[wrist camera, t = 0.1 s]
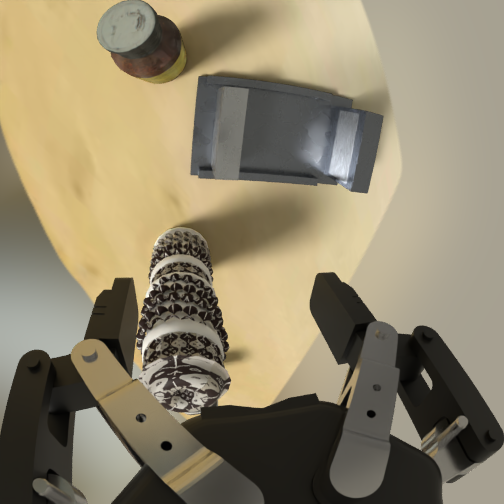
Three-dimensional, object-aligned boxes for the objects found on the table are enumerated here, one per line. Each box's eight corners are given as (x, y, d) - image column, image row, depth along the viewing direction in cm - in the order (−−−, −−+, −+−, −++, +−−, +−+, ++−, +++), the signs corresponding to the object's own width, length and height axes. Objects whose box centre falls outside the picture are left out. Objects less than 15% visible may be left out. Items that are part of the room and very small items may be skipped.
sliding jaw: (218, 88, 32) (224, 86, 26) (238, 90, 33) (249, 88, 27) (210, 164, 37) (215, 179, 31) (230, 165, 38) (238, 180, 32)
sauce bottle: (196, 52, 30) (203, 8, 14) (169, 92, 32) (148, 86, 16) (152, 31, 28) (120, -26, 11) (126, 71, 30) (67, 51, 13)
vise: (198, 76, 32) (201, 70, 24) (349, 99, 37) (385, 104, 29) (190, 173, 38) (191, 194, 31) (334, 183, 43) (364, 204, 35)
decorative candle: (177, 211, 41) (172, 348, 19) (224, 249, 45) (261, 390, 24) (138, 255, 43) (112, 399, 21) (184, 287, 47) (194, 430, 26)
